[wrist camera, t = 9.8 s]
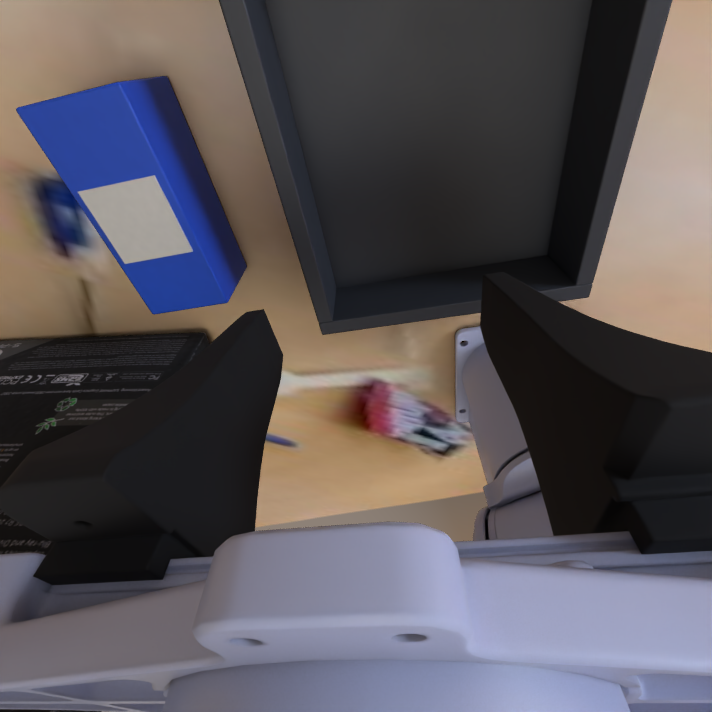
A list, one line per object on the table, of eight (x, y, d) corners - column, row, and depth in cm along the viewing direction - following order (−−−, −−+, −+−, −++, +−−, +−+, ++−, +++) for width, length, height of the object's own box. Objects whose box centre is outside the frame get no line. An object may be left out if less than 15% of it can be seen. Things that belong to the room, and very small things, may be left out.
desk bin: (556, 262, 20) (589, 297, 17) (327, 297, 22) (322, 335, 19) (665, -288, 10) (796, -436, 7) (208, -136, 12) (155, -201, 9)
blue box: (247, 266, 21) (227, 304, 18) (182, 278, 21) (151, 316, 18) (167, 75, 15) (117, 81, 12) (80, 97, 16) (11, 108, 13)
